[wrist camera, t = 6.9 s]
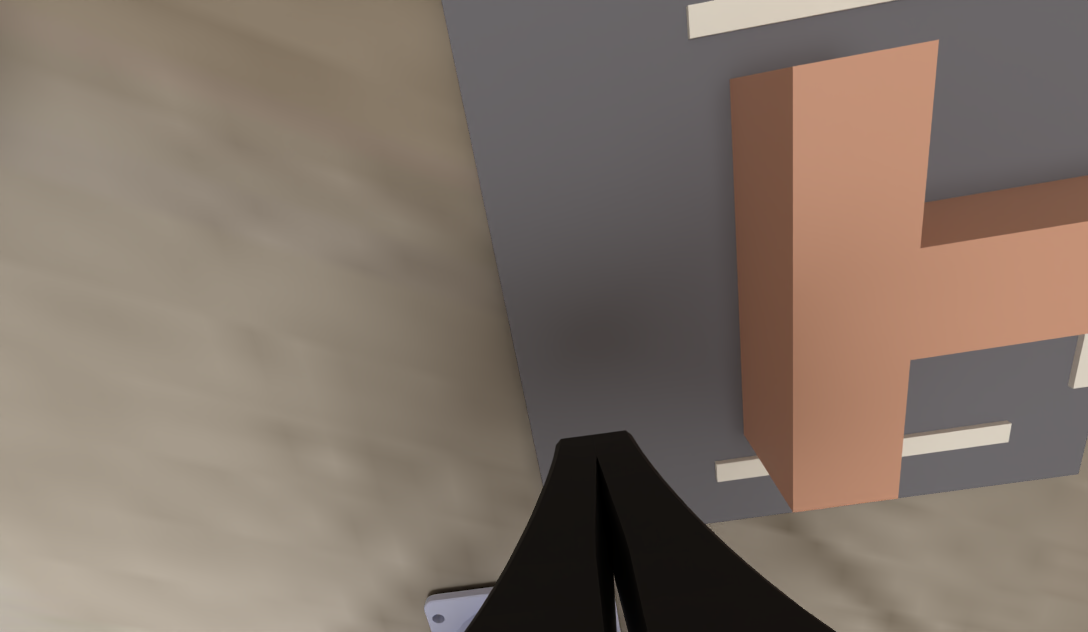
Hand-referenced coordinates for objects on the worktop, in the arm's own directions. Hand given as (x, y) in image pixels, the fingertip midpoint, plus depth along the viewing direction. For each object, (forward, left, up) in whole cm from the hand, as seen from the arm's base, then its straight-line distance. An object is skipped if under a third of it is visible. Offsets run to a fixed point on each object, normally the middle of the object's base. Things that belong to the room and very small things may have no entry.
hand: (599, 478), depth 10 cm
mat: (+1, -8, -9) cm, 12 cm away
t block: (+1, -11, -8) cm, 14 cm away
